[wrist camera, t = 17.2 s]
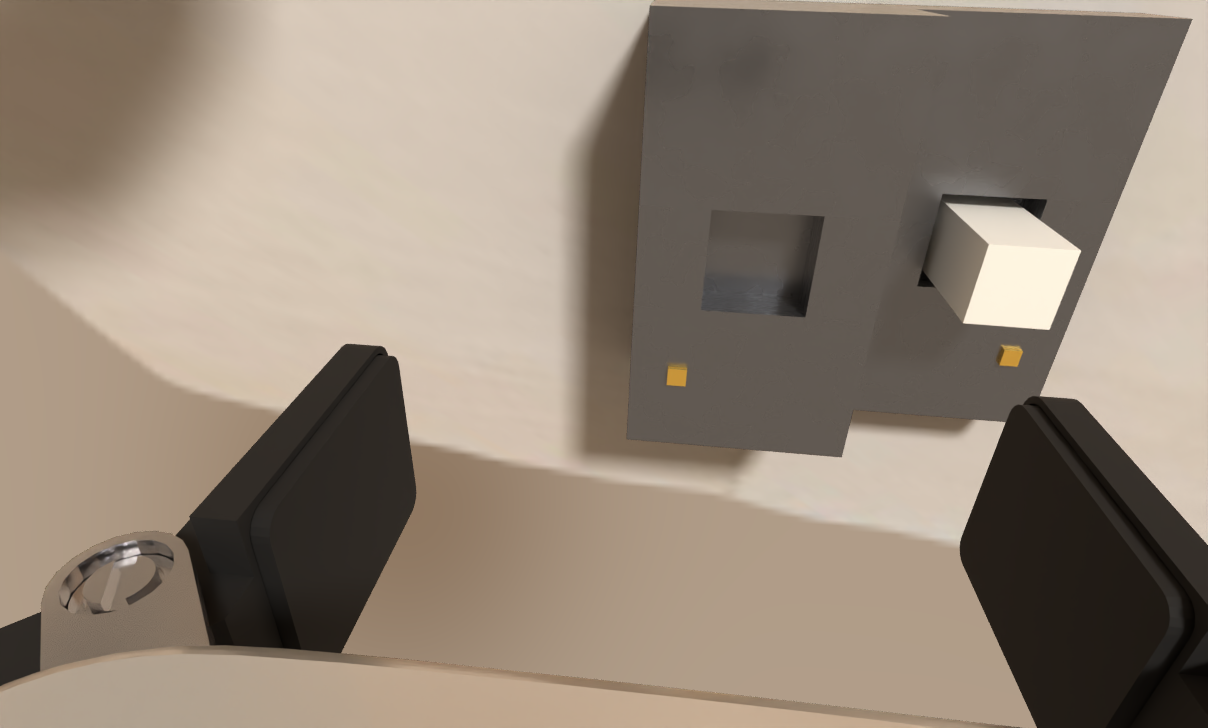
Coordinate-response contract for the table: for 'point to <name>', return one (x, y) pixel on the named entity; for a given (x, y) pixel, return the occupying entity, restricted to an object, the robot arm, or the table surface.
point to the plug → (998, 262)
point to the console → (861, 203)
